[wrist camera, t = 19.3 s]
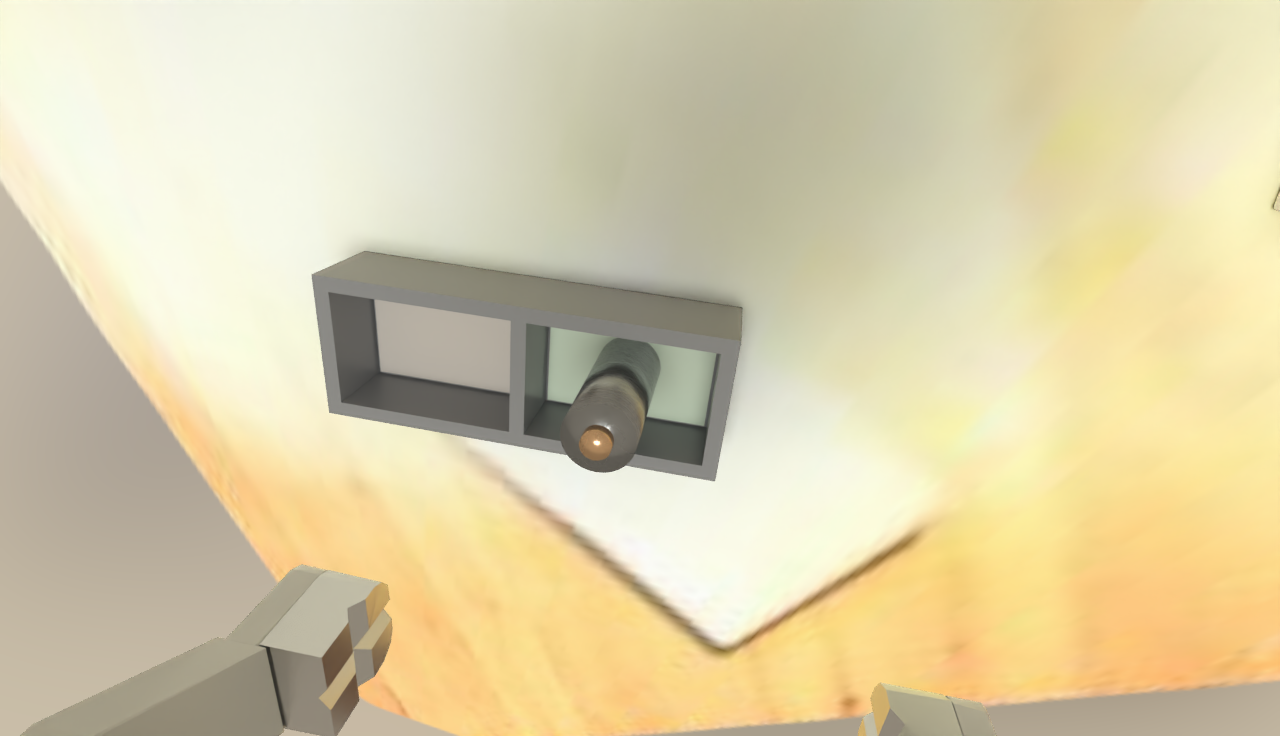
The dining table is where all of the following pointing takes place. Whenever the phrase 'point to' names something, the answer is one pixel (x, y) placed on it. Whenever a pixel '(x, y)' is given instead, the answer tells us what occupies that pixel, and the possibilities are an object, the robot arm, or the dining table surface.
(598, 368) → the metal cell
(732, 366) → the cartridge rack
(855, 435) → the dining table surface
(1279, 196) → the ink cartridge box
